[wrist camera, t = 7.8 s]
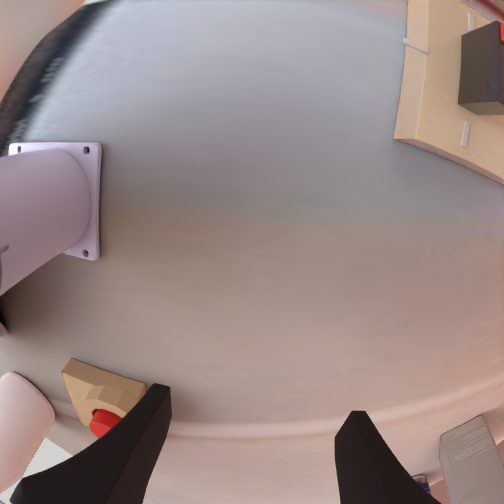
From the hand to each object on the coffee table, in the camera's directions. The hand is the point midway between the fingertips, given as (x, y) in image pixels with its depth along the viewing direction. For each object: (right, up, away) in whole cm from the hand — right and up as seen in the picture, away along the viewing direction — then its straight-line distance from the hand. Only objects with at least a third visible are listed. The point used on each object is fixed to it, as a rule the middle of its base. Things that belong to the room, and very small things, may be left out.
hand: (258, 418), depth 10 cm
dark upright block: (+11, +16, 0) cm, 20 cm away
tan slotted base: (+13, +17, +3) cm, 22 cm away
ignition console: (-14, -8, +15) cm, 22 cm away
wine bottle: (-30, -13, +18) cm, 38 cm away
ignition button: (-12, -8, +10) cm, 18 cm away
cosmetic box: (+27, -18, +15) cm, 35 cm away
